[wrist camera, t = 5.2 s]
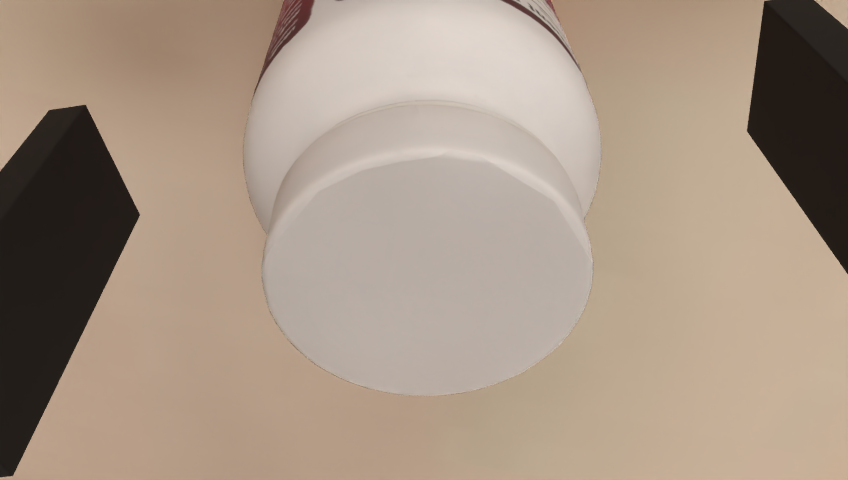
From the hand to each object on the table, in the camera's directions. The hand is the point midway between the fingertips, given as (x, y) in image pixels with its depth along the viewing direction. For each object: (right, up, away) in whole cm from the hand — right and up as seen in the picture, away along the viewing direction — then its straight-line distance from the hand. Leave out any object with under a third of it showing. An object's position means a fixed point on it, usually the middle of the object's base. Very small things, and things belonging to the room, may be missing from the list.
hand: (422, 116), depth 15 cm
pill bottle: (0, +4, +4) cm, 6 cm away
